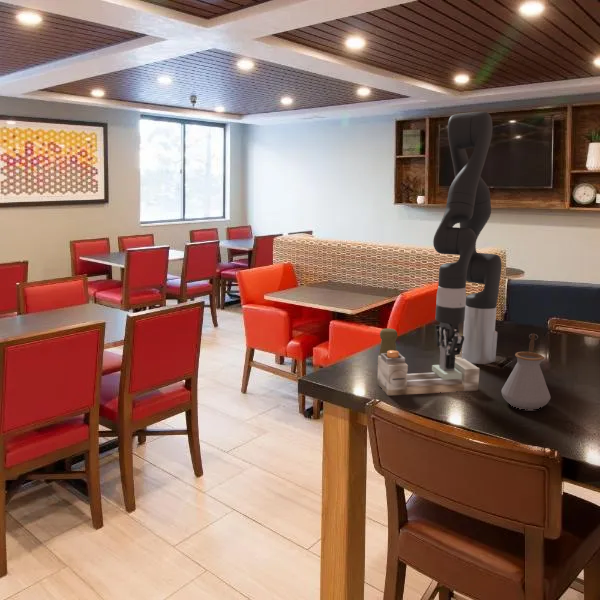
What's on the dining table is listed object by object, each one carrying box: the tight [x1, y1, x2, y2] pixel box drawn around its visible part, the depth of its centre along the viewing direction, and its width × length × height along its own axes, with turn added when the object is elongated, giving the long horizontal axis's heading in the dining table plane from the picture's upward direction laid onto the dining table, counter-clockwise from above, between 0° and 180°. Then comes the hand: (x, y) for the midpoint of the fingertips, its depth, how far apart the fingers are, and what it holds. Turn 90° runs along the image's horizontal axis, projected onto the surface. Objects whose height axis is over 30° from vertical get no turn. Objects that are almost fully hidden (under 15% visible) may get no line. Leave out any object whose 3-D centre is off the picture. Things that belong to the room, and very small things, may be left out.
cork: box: [378, 327, 398, 356], centre depth 179 cm, size 6×6×11 cm
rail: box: [376, 352, 480, 396], centre depth 159 cm, size 25×10×9 cm, turn 101°
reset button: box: [387, 350, 400, 358], centre depth 157 cm, size 3×3×2 cm
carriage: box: [431, 346, 462, 380], centre depth 160 cm, size 5×8×8 cm, turn 10°
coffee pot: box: [501, 332, 552, 411], centre depth 152 cm, size 21×12×15 cm, turn 155°
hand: (446, 366), depth 160 cm, fingers closed on carriage, 3 cm apart
